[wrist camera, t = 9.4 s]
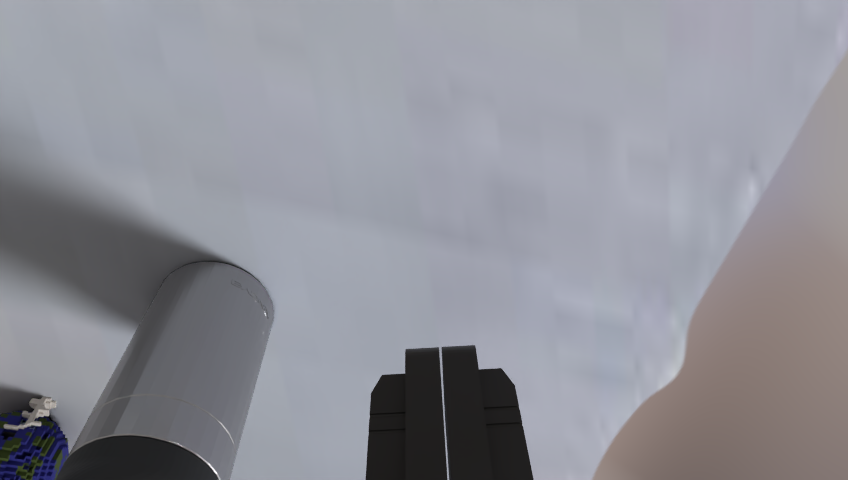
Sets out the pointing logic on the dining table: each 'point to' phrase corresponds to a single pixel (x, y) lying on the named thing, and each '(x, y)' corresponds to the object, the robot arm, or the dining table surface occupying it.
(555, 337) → the dining table surface
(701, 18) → the dining table surface
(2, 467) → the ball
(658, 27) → the dining table surface
